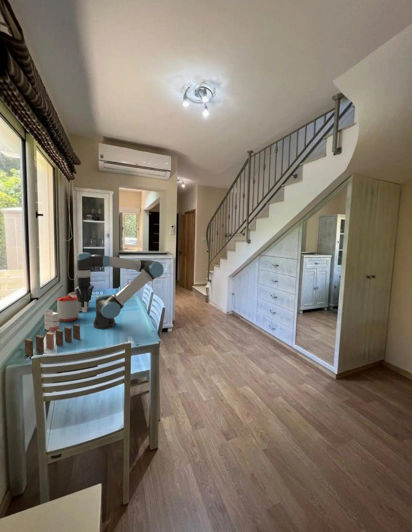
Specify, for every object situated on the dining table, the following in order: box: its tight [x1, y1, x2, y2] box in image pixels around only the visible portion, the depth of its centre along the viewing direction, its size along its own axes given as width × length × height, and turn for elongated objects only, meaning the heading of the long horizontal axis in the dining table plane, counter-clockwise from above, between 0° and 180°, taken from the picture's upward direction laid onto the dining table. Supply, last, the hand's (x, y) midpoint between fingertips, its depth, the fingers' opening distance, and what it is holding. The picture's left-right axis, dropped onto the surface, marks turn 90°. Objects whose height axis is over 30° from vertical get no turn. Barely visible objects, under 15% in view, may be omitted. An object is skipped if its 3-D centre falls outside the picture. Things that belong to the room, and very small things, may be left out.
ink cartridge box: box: [43, 308, 60, 332], centre depth 170 cm, size 9×5×15 cm, turn 69°
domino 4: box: [54, 328, 64, 347], centre depth 147 cm, size 2×5×9 cm, turn 62°
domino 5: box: [63, 326, 73, 344], centre depth 152 cm, size 2×5×9 cm, turn 62°
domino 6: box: [72, 323, 81, 340], centre depth 157 cm, size 2×5×9 cm, turn 62°
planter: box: [67, 291, 90, 312], centre depth 215 cm, size 17×17×15 cm
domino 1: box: [24, 338, 34, 357], centre depth 133 cm, size 2×5×9 cm, turn 62°
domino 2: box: [35, 334, 45, 354], centre depth 138 cm, size 2×5×9 cm, turn 62°
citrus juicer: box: [56, 294, 80, 322], centre depth 191 cm, size 16×17×20 cm
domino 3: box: [45, 331, 55, 350], centre depth 143 cm, size 2×5×9 cm, turn 62°
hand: (84, 311), depth 161 cm, fingers closed
